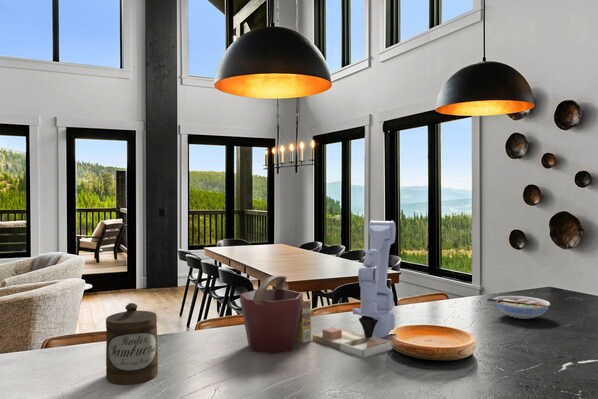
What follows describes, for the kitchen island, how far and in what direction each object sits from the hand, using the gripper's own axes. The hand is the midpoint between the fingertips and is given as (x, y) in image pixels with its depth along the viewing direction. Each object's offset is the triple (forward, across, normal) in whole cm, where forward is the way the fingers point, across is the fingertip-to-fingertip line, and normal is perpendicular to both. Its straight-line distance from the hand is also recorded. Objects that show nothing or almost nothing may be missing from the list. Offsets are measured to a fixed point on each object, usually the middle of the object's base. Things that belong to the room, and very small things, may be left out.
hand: (368, 337), depth 183 cm
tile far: (+1, -12, -7) cm, 14 cm away
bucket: (+3, -21, -27) cm, 34 cm away
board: (+3, -11, -4) cm, 12 cm away
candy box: (+3, -22, -14) cm, 26 cm away
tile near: (0, +5, -1) cm, 5 cm away
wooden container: (+3, -24, -77) cm, 81 cm away
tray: (+3, +2, -4) cm, 5 cm away
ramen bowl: (+3, +13, +81) cm, 82 cm away
